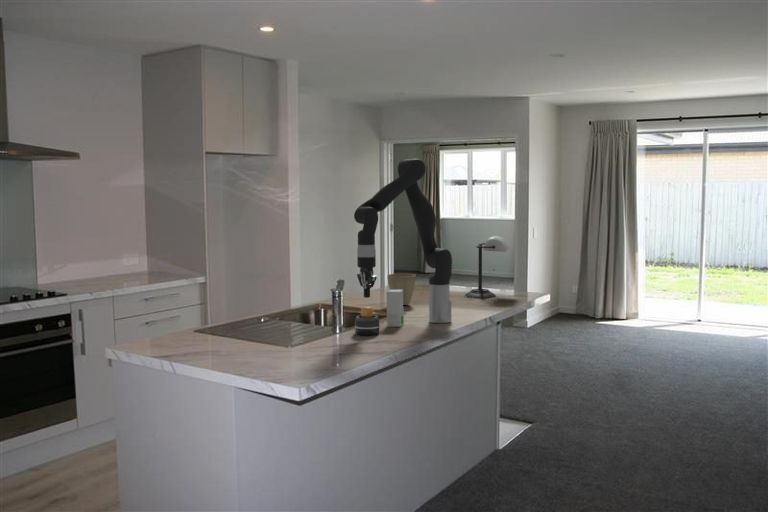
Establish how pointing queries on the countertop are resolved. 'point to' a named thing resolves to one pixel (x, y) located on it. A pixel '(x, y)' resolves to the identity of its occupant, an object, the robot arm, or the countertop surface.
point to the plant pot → (402, 285)
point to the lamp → (490, 245)
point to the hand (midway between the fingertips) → (366, 297)
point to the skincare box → (395, 308)
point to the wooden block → (367, 312)
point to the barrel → (367, 326)
